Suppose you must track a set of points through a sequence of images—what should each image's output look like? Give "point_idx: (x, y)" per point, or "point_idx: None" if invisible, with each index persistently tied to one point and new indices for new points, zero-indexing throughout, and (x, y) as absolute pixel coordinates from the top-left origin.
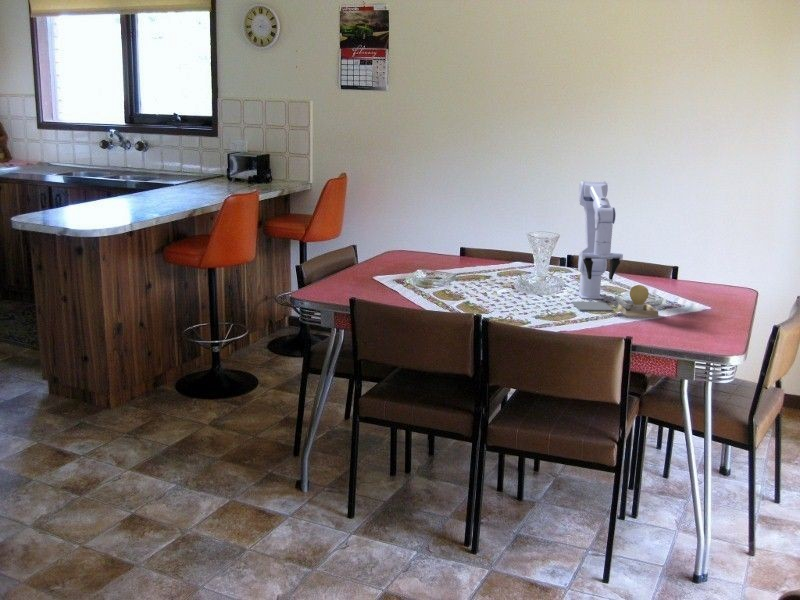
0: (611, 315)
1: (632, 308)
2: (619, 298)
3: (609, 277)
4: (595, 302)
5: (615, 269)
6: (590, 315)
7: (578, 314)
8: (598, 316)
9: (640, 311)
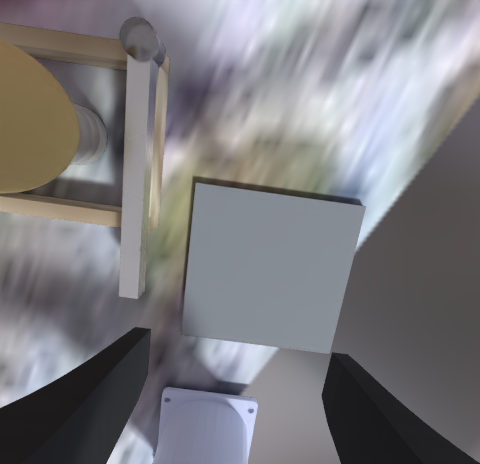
0: (241, 94)
1: (99, 139)
2: (130, 241)
3: (144, 369)
4: (226, 329)
5: (42, 389)
6: (354, 103)
7: (407, 131)
8: (321, 77)
9: (79, 34)
